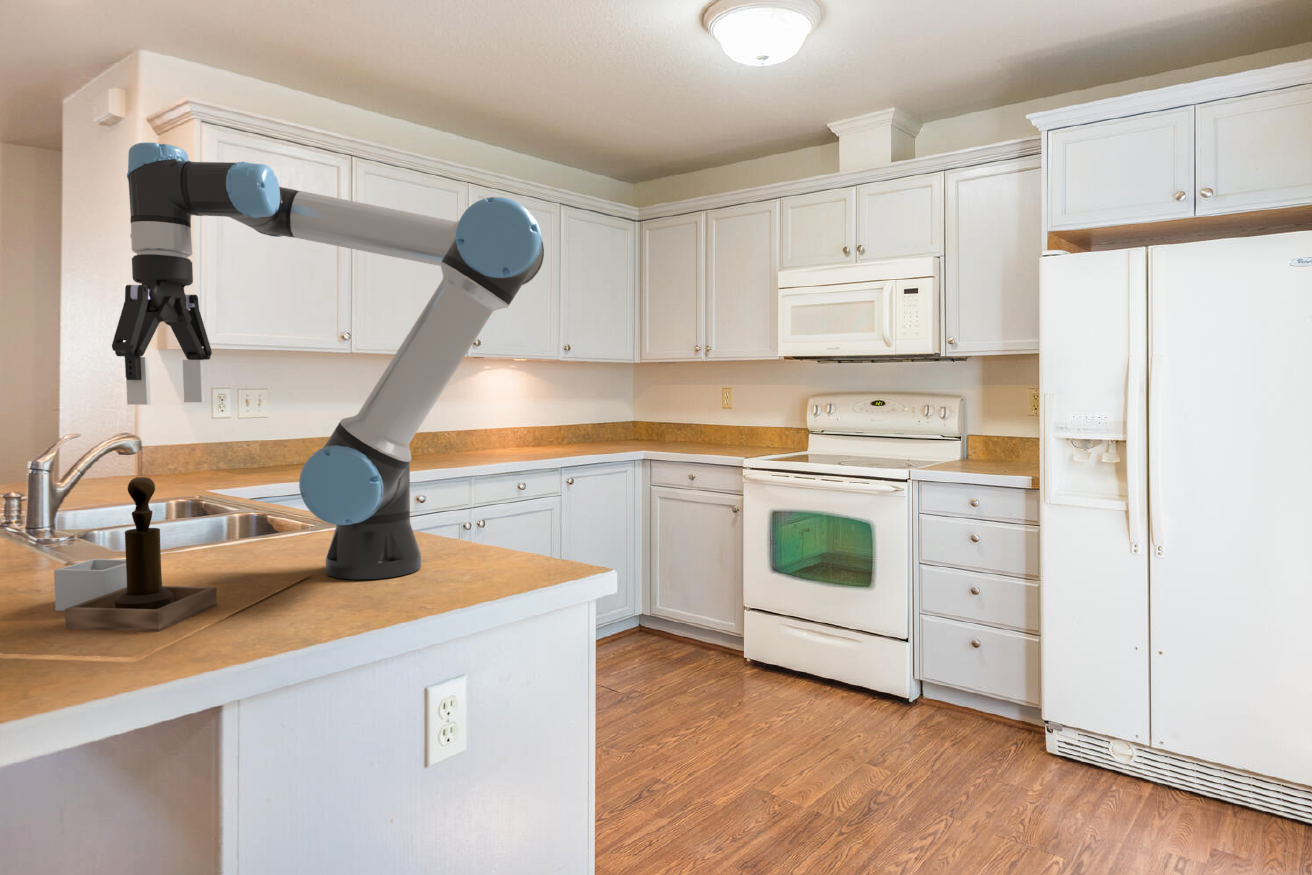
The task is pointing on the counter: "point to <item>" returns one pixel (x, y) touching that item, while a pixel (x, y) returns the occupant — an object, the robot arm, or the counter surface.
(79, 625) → the walnut tray
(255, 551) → the counter surface
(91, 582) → the grey tub
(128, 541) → the brown wooden tall piece
